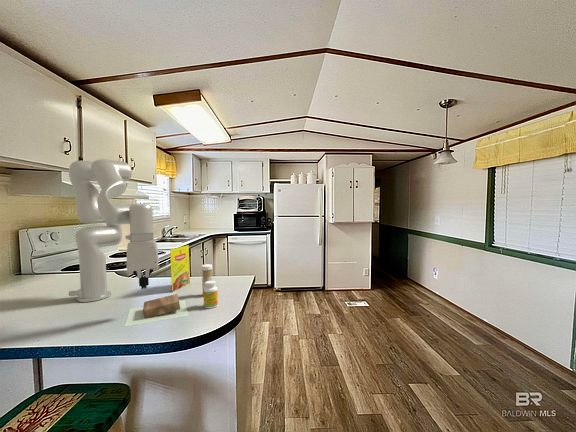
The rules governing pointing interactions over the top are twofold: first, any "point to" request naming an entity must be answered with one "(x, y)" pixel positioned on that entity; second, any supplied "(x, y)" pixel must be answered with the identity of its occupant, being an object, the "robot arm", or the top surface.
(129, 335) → the top surface
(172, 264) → the food package
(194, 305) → the top surface
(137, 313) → the mat
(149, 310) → the walnut plank
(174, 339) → the top surface
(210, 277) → the sprinkles bottle
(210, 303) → the supplement bottle
